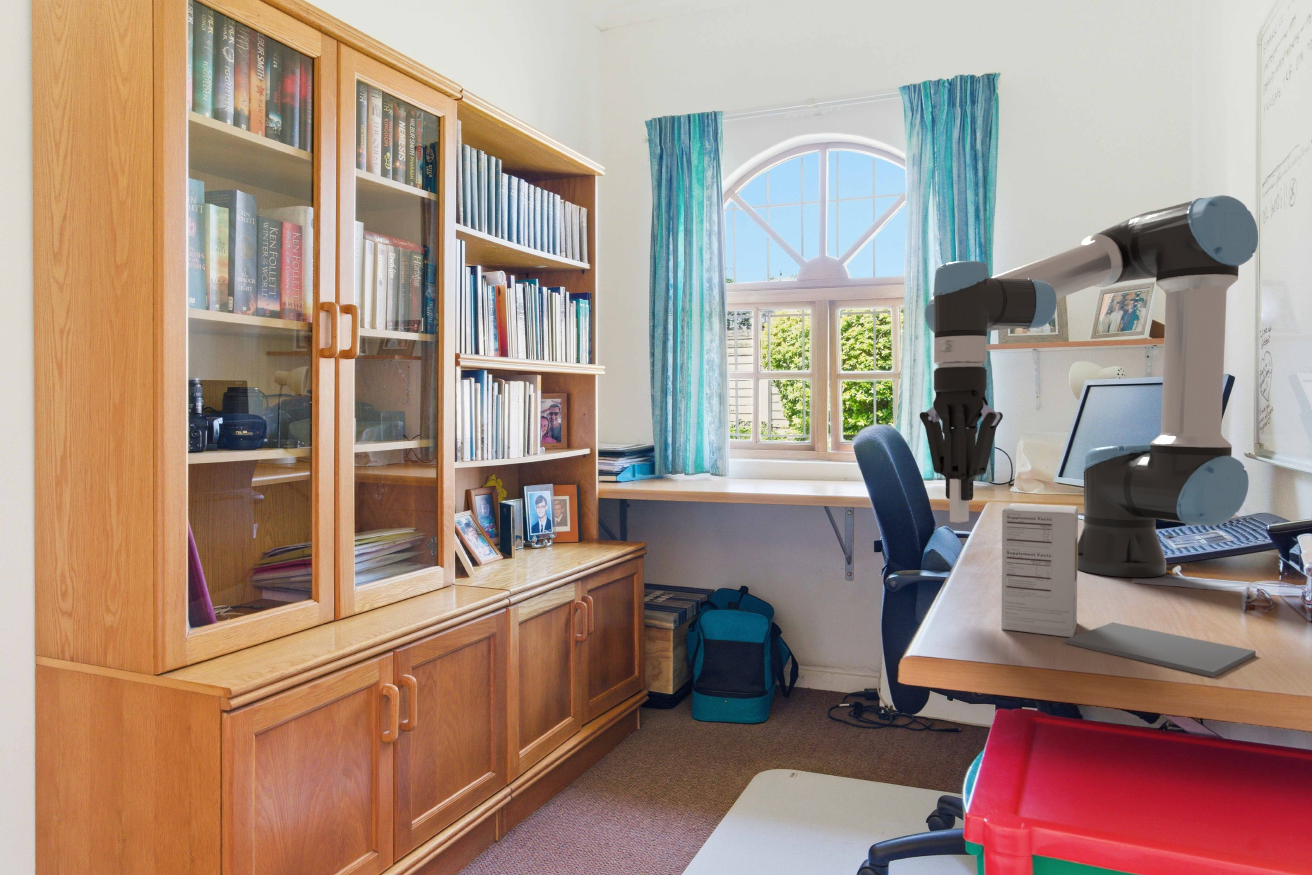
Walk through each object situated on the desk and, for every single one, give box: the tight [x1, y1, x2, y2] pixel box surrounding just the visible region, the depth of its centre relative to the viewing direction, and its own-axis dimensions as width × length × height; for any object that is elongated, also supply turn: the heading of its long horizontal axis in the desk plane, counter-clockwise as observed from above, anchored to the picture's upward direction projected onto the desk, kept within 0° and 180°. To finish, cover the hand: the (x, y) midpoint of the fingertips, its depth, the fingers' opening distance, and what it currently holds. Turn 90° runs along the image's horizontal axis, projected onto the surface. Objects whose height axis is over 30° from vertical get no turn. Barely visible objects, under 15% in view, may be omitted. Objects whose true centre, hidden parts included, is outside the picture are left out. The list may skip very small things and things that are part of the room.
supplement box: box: [1000, 502, 1079, 638], centre depth 117 cm, size 10×9×17 cm
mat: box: [1065, 622, 1256, 678], centre depth 106 cm, size 13×17×1 cm
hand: (959, 521), depth 127 cm, fingers closed
